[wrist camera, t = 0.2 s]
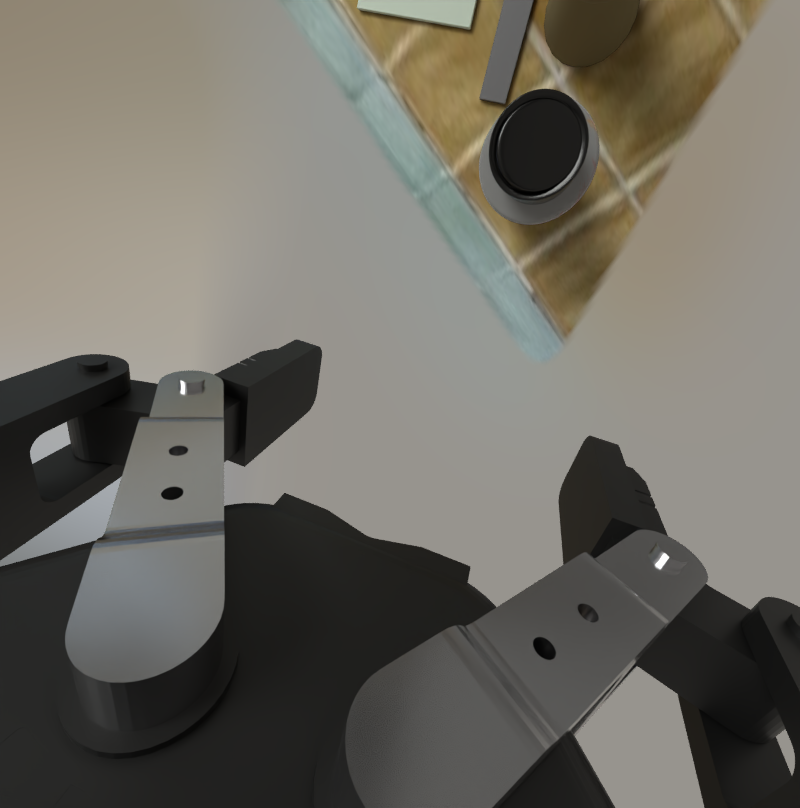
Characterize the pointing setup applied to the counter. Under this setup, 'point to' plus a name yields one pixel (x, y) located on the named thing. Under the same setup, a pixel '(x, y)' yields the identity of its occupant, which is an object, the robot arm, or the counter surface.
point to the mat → (425, 10)
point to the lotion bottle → (539, 157)
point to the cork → (587, 28)
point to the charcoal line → (505, 50)
